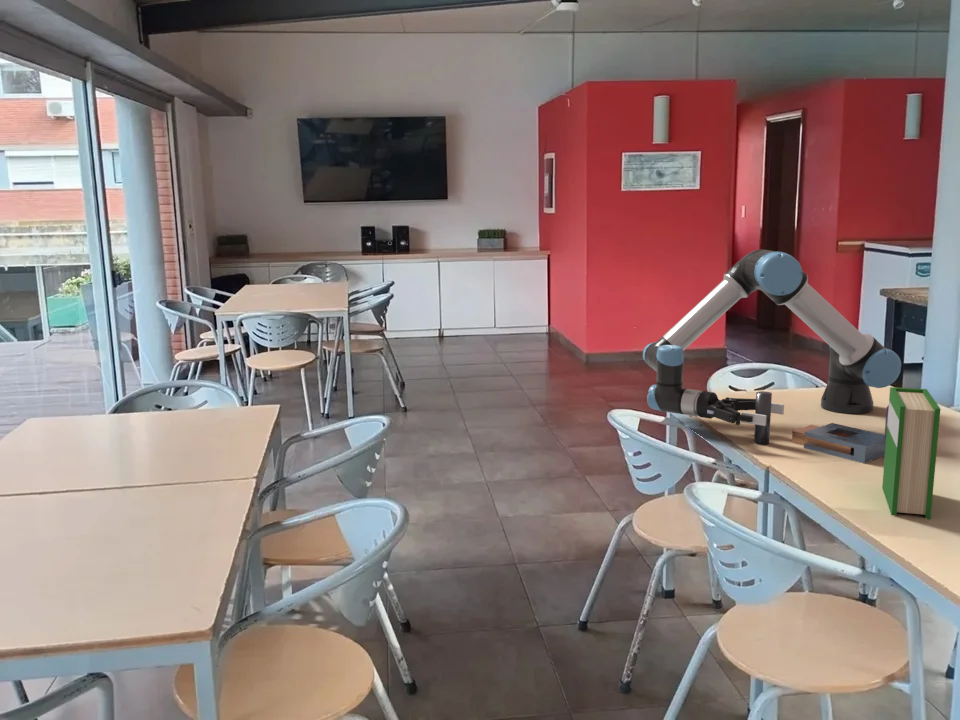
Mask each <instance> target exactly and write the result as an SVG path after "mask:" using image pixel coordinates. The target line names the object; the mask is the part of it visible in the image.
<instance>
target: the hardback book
mask: <svg viewBox="0 0 960 720" xmlns="http://www.w3.org/2000/svg"><path fill="white" fill-rule="evenodd" d="M888 397H889V399H888V405H889V409H888V421H887V434H886V447H885V456H884V462H883V472H882V473H883V475H882V485H881V486H882V491H883V494H884V497H885V499H886V503H887V507H888V509H889V512H890V515H891V516H892V515H896V516H897V513H904V514H915V515H923V516H925V517H924V519H925V518H927V519H926V520H931V518H932V505H933V493H934V485H935V474H936V473H935V472H936V471H935V470H936V462H937V452H938V451H937V449H938V441H939V439H938V438H939V429H940V428H939V427H940V419H941V418H940V417H941V407H940V406H939V405H938V403H937V402H936V401H935V399H934V398H933V396H932V394H931V393H930V391H928V389H927V388H911V387H910V388H909V387H895V386H894V387H892V386H890V387H889V396H888Z"/></svg>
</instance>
